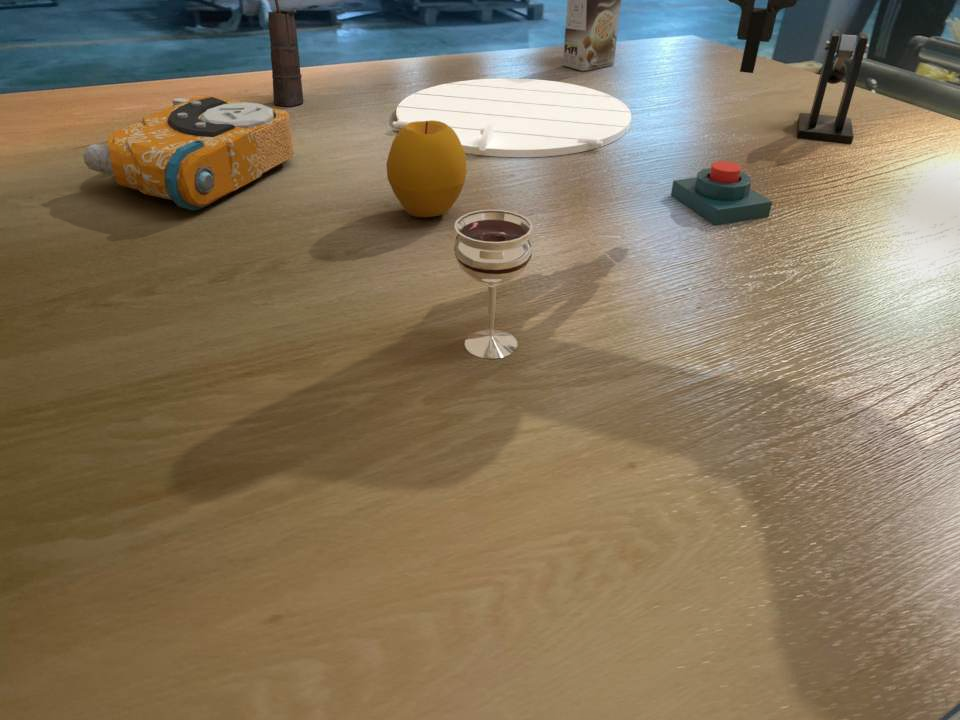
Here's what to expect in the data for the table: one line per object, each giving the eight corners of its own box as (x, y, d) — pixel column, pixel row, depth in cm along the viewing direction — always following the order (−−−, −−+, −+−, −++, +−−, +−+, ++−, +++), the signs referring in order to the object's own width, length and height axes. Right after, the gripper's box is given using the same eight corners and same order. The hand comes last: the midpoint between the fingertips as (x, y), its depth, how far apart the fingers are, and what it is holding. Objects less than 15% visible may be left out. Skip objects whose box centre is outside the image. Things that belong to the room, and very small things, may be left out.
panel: (768, 217, 95) (776, 187, 93) (714, 226, 93) (720, 195, 91) (721, 188, 103) (727, 159, 101) (670, 196, 101) (675, 167, 98)
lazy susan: (614, 171, 108) (617, 147, 106) (357, 144, 116) (355, 122, 114) (640, 94, 140) (643, 74, 138) (437, 77, 148) (437, 59, 146)
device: (39, 130, 95) (204, 74, 118) (59, 193, 100) (214, 127, 122) (179, 158, 87) (327, 92, 110) (194, 224, 92) (333, 148, 115)
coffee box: (584, 72, 152) (591, -17, 143) (561, 65, 156) (567, -21, 147) (615, 65, 157) (624, -21, 148) (592, 59, 161) (600, -25, 152)
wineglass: (493, 316, 75) (496, 203, 68) (542, 345, 71) (550, 227, 64) (440, 341, 72) (437, 223, 65) (488, 373, 67) (490, 251, 61)
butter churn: (333, 100, 135) (315, -82, 119) (294, 114, 128) (270, -77, 112) (296, 92, 139) (273, -85, 123) (256, 104, 132) (227, -81, 116)
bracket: (797, 119, 128) (821, 25, 120) (848, 125, 126) (876, 29, 118) (797, 138, 120) (821, 38, 112) (851, 144, 118) (880, 43, 110)
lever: (819, 86, 128) (823, 64, 128) (842, 88, 127) (846, 66, 127) (832, 53, 115) (837, 29, 115) (858, 55, 114) (863, 31, 114)
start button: (744, 182, 95) (747, 169, 94) (720, 186, 94) (722, 172, 93) (727, 172, 98) (729, 159, 97) (703, 176, 97) (705, 162, 96)
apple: (425, 238, 90) (421, 140, 83) (372, 214, 95) (365, 120, 88) (482, 214, 95) (483, 120, 89) (429, 192, 101) (427, 103, 94)
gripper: (866, -173, 78) (805, 68, 91) (734, -175, 81) (695, 57, 95) (870, -174, 72) (804, 83, 85) (728, -176, 75) (686, 71, 89)
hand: (747, 69), depth 90 cm, fingers closed
